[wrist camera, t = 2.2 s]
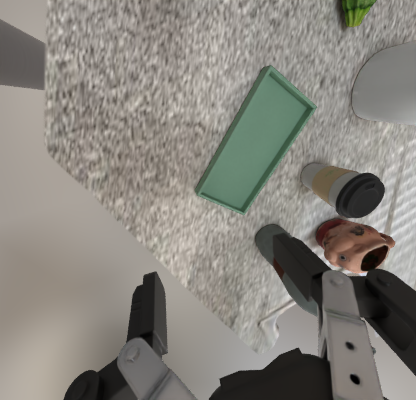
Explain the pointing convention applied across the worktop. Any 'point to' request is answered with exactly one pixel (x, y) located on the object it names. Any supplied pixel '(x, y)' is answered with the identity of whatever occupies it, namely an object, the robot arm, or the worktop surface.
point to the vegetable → (356, 10)
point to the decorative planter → (353, 245)
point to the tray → (255, 142)
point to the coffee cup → (344, 189)
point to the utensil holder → (388, 86)
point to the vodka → (267, 252)
